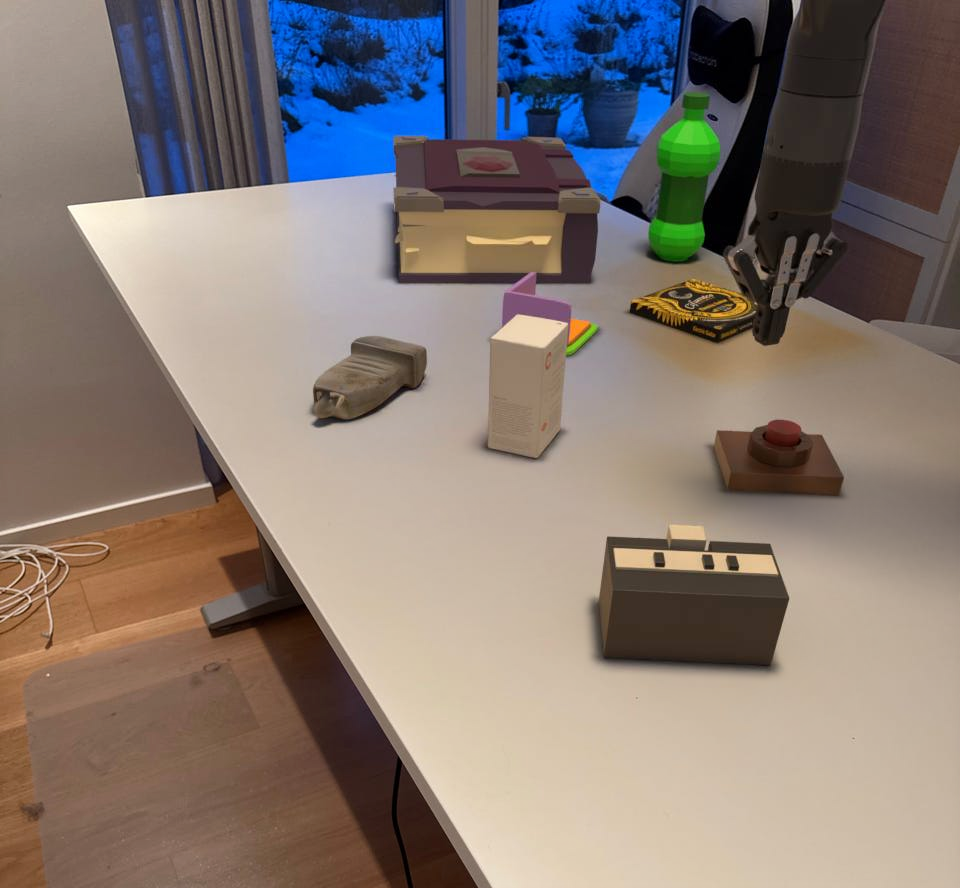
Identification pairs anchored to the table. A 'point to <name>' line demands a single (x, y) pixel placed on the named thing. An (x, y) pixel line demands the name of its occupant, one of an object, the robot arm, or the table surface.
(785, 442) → the bell button
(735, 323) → the guitar strings
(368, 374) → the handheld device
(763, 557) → the toy piano
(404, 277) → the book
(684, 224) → the plastic bottle
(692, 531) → the white key
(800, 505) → the table surface
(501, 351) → the small box
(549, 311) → the toy room diorama
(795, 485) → the brown base plate
